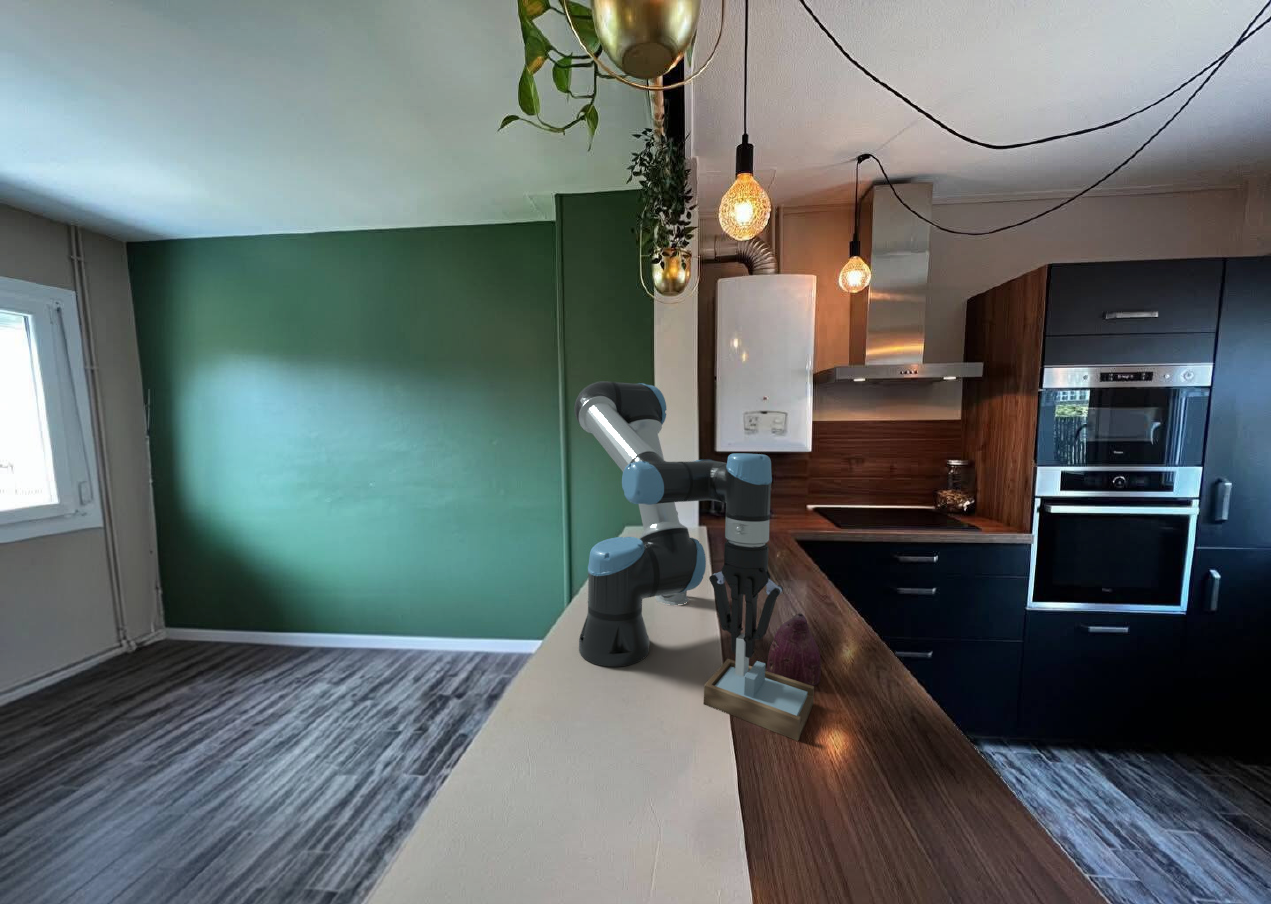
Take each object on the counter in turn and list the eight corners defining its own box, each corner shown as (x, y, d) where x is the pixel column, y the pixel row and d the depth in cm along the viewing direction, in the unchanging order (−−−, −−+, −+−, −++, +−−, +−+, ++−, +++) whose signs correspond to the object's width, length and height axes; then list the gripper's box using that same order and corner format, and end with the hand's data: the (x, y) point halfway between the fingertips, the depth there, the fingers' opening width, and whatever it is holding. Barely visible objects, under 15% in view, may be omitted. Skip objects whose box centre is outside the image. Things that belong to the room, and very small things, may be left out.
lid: (713, 691, 79) (714, 669, 78) (730, 670, 86) (731, 650, 86) (795, 722, 71) (796, 698, 71) (807, 696, 78) (808, 674, 78)
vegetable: (822, 705, 84) (842, 641, 79) (765, 690, 86) (782, 627, 81) (814, 664, 94) (832, 605, 89) (763, 652, 96) (778, 593, 91)
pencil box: (703, 704, 78) (704, 685, 78) (727, 675, 88) (727, 658, 87) (798, 741, 70) (799, 720, 70) (813, 705, 79) (814, 686, 79)
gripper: (703, 539, 79) (699, 669, 80) (777, 552, 72) (772, 695, 73) (720, 532, 85) (716, 653, 87) (790, 543, 78) (784, 674, 79)
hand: (741, 672), depth 80 cm, fingers closed
